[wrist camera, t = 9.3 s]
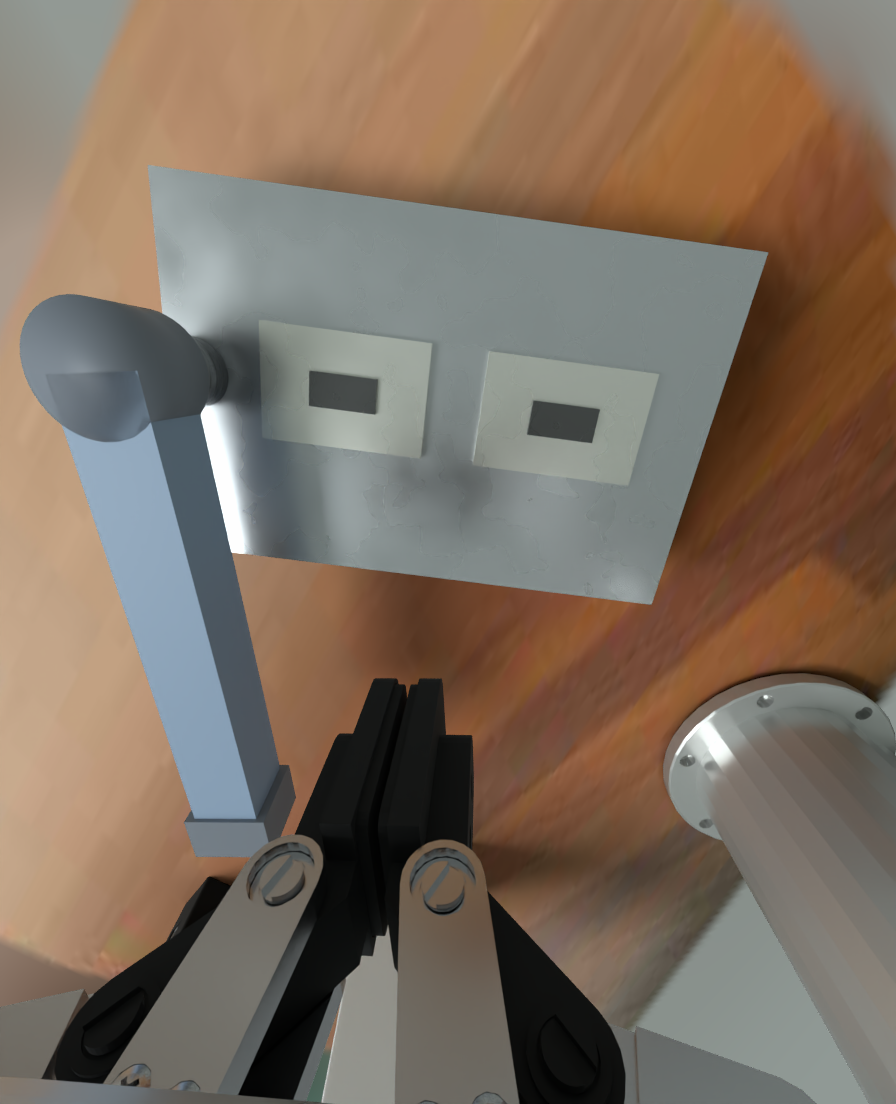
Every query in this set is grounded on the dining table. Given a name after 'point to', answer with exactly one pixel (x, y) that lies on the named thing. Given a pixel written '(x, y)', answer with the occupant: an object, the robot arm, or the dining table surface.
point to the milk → (366, 1033)
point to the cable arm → (166, 550)
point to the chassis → (448, 380)
